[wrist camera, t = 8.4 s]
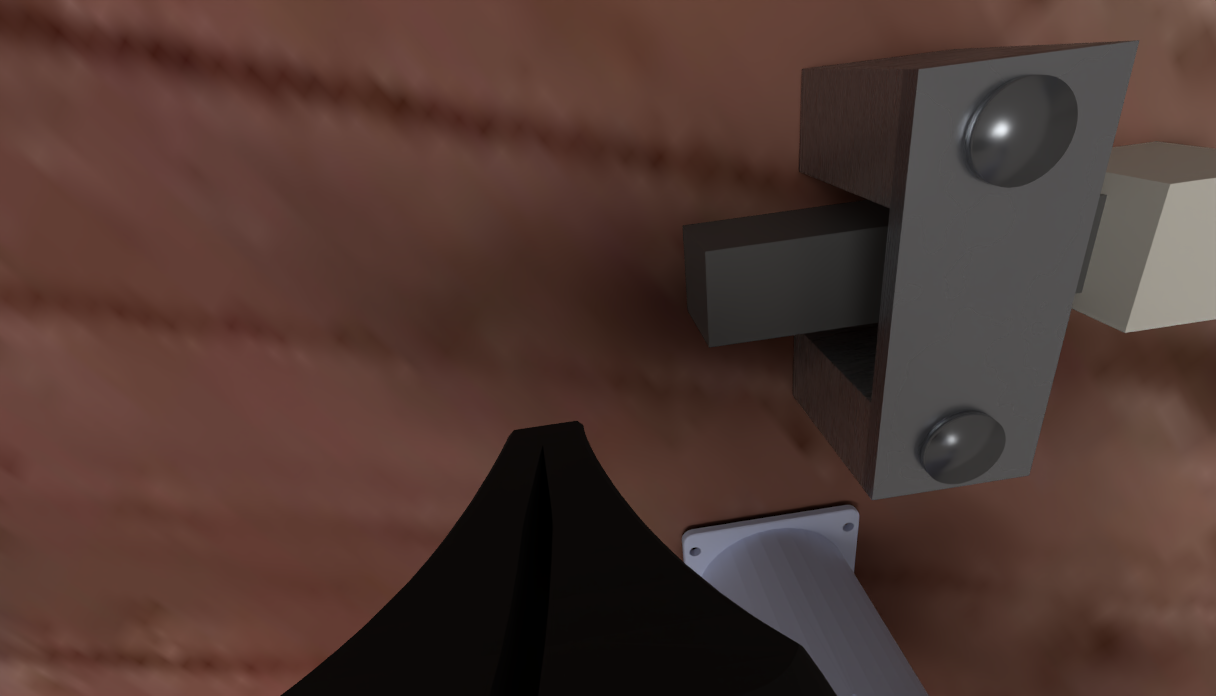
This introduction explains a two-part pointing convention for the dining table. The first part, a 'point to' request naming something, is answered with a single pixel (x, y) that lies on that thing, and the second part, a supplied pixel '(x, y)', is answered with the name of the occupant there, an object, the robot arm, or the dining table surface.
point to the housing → (957, 250)
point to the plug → (856, 245)
